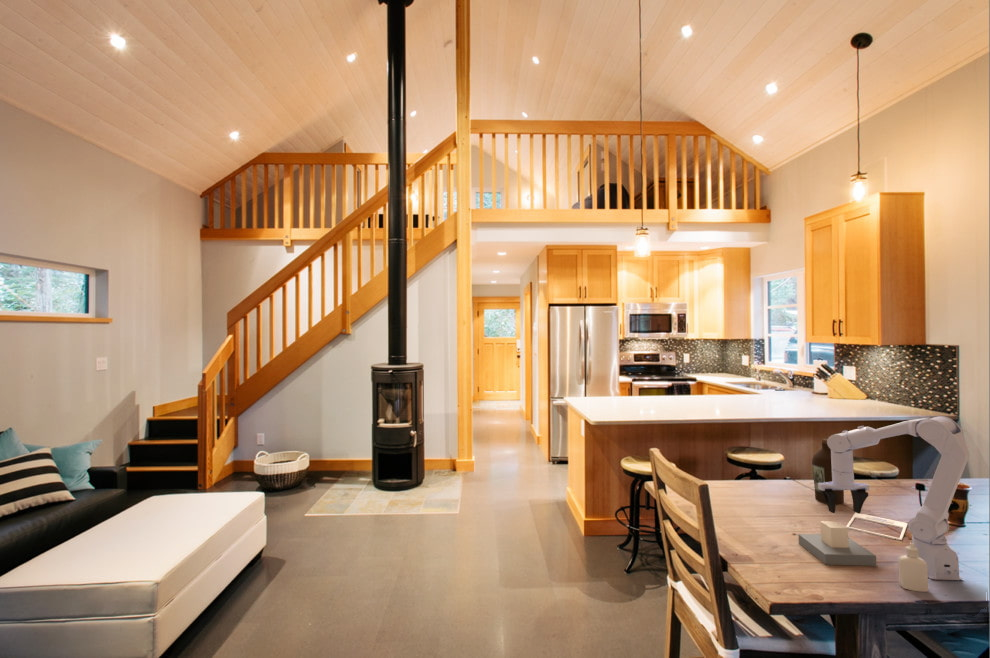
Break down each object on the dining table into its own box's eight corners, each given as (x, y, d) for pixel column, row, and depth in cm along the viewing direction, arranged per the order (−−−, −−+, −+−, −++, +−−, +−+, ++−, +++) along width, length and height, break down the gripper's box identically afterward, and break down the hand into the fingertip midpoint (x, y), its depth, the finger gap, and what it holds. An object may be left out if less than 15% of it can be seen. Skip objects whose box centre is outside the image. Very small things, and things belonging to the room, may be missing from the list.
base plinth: (876, 565, 132) (876, 555, 132) (825, 564, 134) (825, 554, 134) (844, 544, 146) (844, 534, 146) (798, 543, 148) (798, 533, 148)
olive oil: (833, 496, 189) (831, 436, 189) (852, 505, 178) (849, 442, 179) (807, 496, 189) (805, 436, 190) (824, 505, 179) (822, 442, 179)
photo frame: (907, 522, 160) (901, 538, 147) (907, 525, 160) (901, 542, 147) (855, 511, 170) (845, 526, 158) (855, 514, 170) (846, 529, 158)
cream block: (848, 547, 137) (848, 527, 137) (831, 547, 138) (830, 527, 138) (837, 540, 142) (837, 521, 142) (821, 540, 143) (820, 521, 143)
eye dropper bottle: (901, 581, 124) (899, 537, 124) (929, 589, 119) (927, 544, 120) (898, 587, 121) (895, 541, 121) (926, 595, 117) (924, 549, 117)
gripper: (857, 467, 151) (859, 507, 150) (811, 466, 152) (813, 507, 152) (873, 473, 144) (875, 516, 143) (824, 473, 145) (826, 515, 145)
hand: (844, 512), depth 147 cm, fingers open, 7 cm apart
